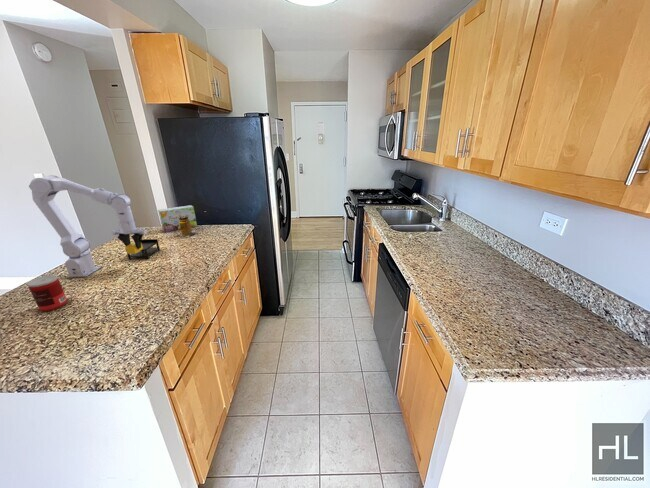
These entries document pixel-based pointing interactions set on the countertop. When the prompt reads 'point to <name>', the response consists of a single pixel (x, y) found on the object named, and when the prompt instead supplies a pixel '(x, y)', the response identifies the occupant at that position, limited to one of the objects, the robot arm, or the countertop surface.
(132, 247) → the yellow block
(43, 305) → the canned food
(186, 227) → the condiment
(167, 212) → the snack box
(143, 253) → the rack
